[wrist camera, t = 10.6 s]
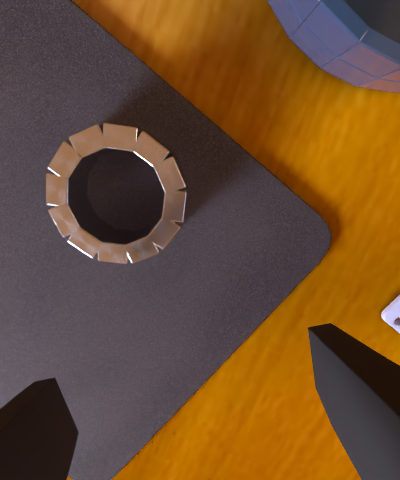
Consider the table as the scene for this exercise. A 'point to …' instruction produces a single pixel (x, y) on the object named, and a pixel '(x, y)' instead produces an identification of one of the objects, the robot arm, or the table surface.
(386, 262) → the table surface
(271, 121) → the table surface
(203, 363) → the mouse pad
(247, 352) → the table surface
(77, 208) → the steel ring
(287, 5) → the bowl
